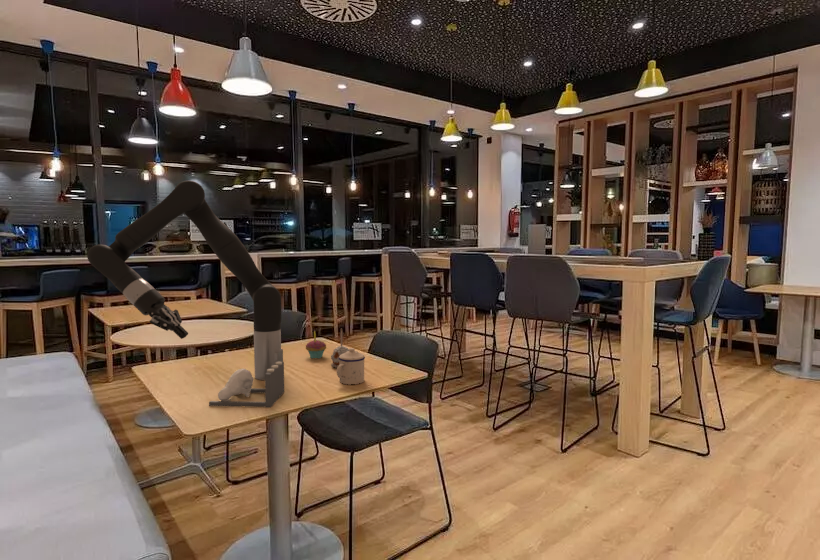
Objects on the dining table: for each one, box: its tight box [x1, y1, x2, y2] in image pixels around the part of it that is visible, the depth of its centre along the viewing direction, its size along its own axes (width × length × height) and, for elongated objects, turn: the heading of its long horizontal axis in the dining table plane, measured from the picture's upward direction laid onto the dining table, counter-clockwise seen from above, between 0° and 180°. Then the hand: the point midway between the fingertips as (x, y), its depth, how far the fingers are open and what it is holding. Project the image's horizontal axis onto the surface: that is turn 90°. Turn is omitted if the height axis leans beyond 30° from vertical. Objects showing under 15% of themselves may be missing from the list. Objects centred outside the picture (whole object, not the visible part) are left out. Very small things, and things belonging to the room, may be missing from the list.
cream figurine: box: [217, 368, 255, 401], centre depth 143 cm, size 6×8×12 cm
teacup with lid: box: [336, 347, 366, 386], centre depth 160 cm, size 12×9×12 cm
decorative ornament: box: [330, 328, 350, 368], centre depth 180 cm, size 8×8×15 cm
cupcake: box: [305, 329, 327, 359], centre depth 193 cm, size 9×8×12 cm
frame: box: [208, 361, 285, 409], centre depth 143 cm, size 19×14×11 cm
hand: (185, 336), depth 142 cm, fingers closed
